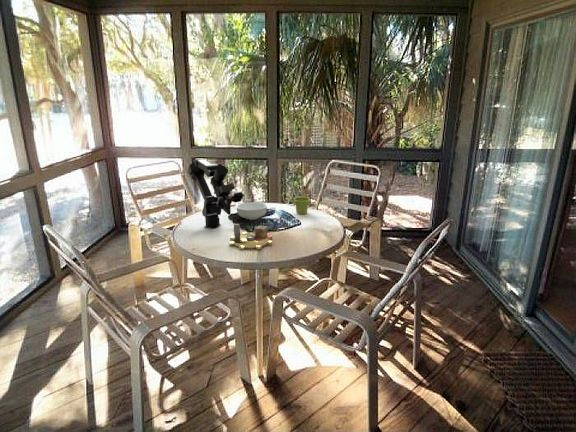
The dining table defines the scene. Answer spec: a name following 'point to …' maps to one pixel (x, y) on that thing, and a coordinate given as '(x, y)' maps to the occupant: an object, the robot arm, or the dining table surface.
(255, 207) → the cereal bowl
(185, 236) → the dining table surface
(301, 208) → the plant pot
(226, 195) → the robot arm
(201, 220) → the dining table surface
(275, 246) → the dining table surface
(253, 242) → the sprocket
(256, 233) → the block
